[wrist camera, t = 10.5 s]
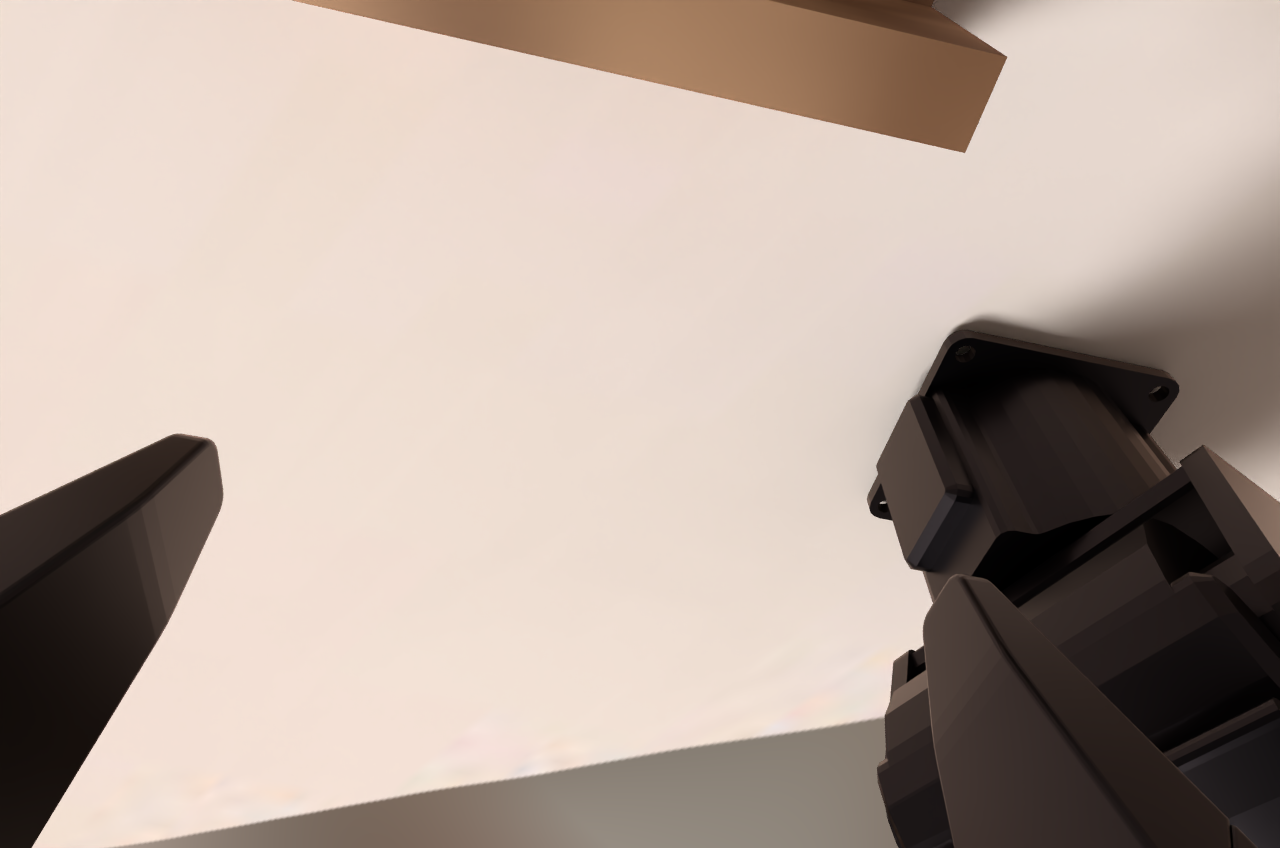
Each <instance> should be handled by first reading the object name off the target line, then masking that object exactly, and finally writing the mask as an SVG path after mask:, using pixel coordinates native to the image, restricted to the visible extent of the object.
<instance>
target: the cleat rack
mask: <svg viewBox="0 0 1280 848" xmlns="http://www.w3.org/2000/svg"><path fill="white" fill-rule="evenodd" d="M293 1H297V2H301V3H306V4H310V5H315V6H319V7H323V8H328V9H332V10H337V11H341V12H345V13H350V14H354V15H359V16H363V17H368V18H372V19H376V20H381V21H385V22H390V23H394V24H398V25H403V26H407V27H412V28H416V29H420V30H425V31H429V32H434V33H438V34H443V35H447V36H451V37H456V38H460V39H465V40H469V41H473V42H478V43H482V44H487V45H491V46H496V47H500V48H504V49H509V50H513V51H518V52H522V53H526V54H531V55H535V56H540V57H544V58H548V59H553V60H557V61H562V62H566V63H571V64H575V65H579V66H584V67H588V68H593V69H597V70H601V71H606V72H610V73H615V74H619V75H623V76H628V77H632V78H637V79H641V80H646V81H650V82H654V83H659V84H663V85H668V86H672V87H676V88H681V89H685V90H690V91H694V92H698V93H703V94H707V95H712V96H716V97H721V98H725V99H729V100H734V101H738V102H743V103H747V104H751V105H756V106H760V107H765V108H769V109H773V110H778V111H782V112H787V113H791V114H796V115H800V116H804V117H809V118H813V119H818V120H822V121H826V122H831V123H835V124H840V125H844V126H848V127H853V128H857V129H862V130H866V131H871V132H875V133H879V134H884V135H888V136H893V137H897V138H901V139H906V140H910V141H915V142H919V143H924V144H928V145H932V146H937V147H941V148H946V149H950V150H954V151H959V152H963V153H965V152H966V149H967V147H968V145H969V143H970V140H971V138H972V136H973V133H974V131H975V129H976V127H977V124H978V122H979V120H980V118H981V115H982V113H983V111H984V109H985V106H986V104H987V102H988V100H989V97H990V95H991V93H992V91H993V88H994V86H995V84H996V81H997V79H998V77H999V75H1000V72H1001V70H1002V68H1003V66H1004V63H1005V61H1006V59H1007V57H1006V56H1005V55H1003V54H1002V53H1000V52H999V51H997V50H996V49H994V48H993V47H991V46H990V45H988V44H987V43H985V42H984V41H982V40H981V39H979V38H978V37H976V36H974V35H973V34H971V33H970V32H968V31H967V30H965V29H964V28H962V27H961V26H959V25H958V24H956V23H955V22H953V21H952V20H950V19H949V18H947V17H946V16H944V15H943V14H941V13H940V12H938V11H936V10H935V9H933V8H932V7H931V6H932V4H933V1H934V0H293Z"/></svg>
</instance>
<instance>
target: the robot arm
mask: <svg viewBox="0 0 1280 848" xmlns="http://www.w3.org/2000/svg"><path fill="white" fill-rule="evenodd" d="M963 346H971V348H970V349H969V350H968V352H966V353H964V354H962V355H957V354H956V352H957V351H958V349H959V348H961V347H963ZM1159 386H1161V388H1160V389H1159V390H1158V391H1156V392H1154V393H1150V392H1151V391H1152V390H1153V389H1154V388H1156V387H1159ZM1178 393H1179V385H1178V384H1177V382H1176V381H1175V380H1174V379H1173V378H1172V377H1171V375H1170V374H1169V373H1167V372H1165V371H1162V370H1157V369H1152V368H1148V367H1143V366H1138V365H1133V364H1128V363H1124V362H1119V361H1114V360H1109V359H1104V358H1099V357H1095V356H1090V355H1085V354H1080V353H1075V352H1071V351H1066V350H1061V349H1056V348H1051V347H1047V346H1042V345H1037V344H1032V343H1027V342H1022V341H1018V340H1013V339H1008V338H1003V337H998V336H994V335H989V334H984V333H979V332H974V331H969V330H961V331H958V332H955V333H953V334H951V335H950V336H949V337H947V339H946V340H945V341H944V343H943V345H942V347H941V349H940V351H939V353H938V355H937V357H936V359H935V361H934V363H933V365H932V367H931V369H930V371H929V373H928V375H927V377H926V379H925V381H924V383H923V385H922V387H921V389H920V391H919V393H918V395H915V396H914V397H912V398H911V399H910V400H908V402H907V403H906V406H905V408H904V410H903V412H902V414H901V416H900V418H899V420H898V422H897V424H896V426H895V428H894V430H893V432H892V434H891V436H890V438H889V440H888V442H887V444H886V446H885V448H884V450H883V452H882V454H881V457H880V459H879V461H878V463H877V466H876V468H877V471H878V476H877V478H876V480H875V482H874V484H873V486H872V488H871V490H870V492H869V494H868V497H867V501H868V505H869V509H870V512H871V513H872V514H873V515H874V516H875V517H878V518H882V519H887V520H892V521H893V523H894V526H895V530H896V533H897V536H898V539H899V543H900V546H901V549H902V552H903V556H904V559H905V560H906V562H907V564H908V565H909V567H910V568H911V569H914V570H919V571H923V574H924V577H925V580H926V583H927V586H928V589H929V592H930V595H931V598H932V601H933V605H932V607H931V608H930V610H929V611H928V613H927V615H926V617H925V620H924V625H923V640H924V646H922V647H921V648H919V649H918V650H916V651H914V650H909V651H908V652H906V653H905V654H903V655H902V656H900V657H899V658H898V659H896V660H895V661H894V663H893V673H892V685H891V697H890V703H889V706H888V708H887V711H886V714H885V734H886V735H885V736H886V755H885V760H883V761H882V762H880V763H879V765H878V767H877V778H878V785H879V788H880V791H881V795H882V798H883V801H884V804H885V808H886V813H887V818H888V822H889V824H890V827H891V830H892V832H893V835H894V838H895V840H896V843H897V845H898V847H899V848H1280V502H1278V501H1277V500H1276V499H1274V498H1273V497H1272V496H1271V495H1269V494H1268V493H1267V492H1265V491H1264V490H1263V489H1261V488H1260V487H1259V486H1257V485H1256V484H1255V483H1253V482H1252V481H1251V480H1250V479H1248V478H1247V477H1246V476H1244V475H1243V474H1242V473H1240V472H1239V471H1238V470H1236V469H1235V468H1234V467H1232V466H1231V465H1230V464H1229V463H1227V462H1226V461H1225V460H1223V459H1222V458H1221V457H1219V456H1218V455H1217V454H1215V453H1214V452H1213V451H1211V450H1210V449H1209V448H1208V447H1206V446H1205V445H1202V446H1201V447H1200V448H1198V449H1197V450H1195V451H1194V452H1192V453H1191V454H1189V455H1188V456H1187V457H1185V458H1184V459H1182V460H1181V461H1180V463H1181V465H1182V466H1181V467H1180V468H1179V469H1176V468H1175V466H1174V465H1173V464H1172V463H1171V461H1170V460H1169V459H1168V458H1167V456H1166V455H1165V454H1164V452H1163V451H1162V450H1161V449H1160V447H1159V446H1158V445H1157V444H1156V442H1155V441H1154V440H1153V439H1152V437H1151V436H1150V435H1149V434H1150V433H1151V431H1152V430H1153V429H1154V427H1155V426H1156V424H1157V423H1158V422H1159V420H1160V419H1161V418H1162V416H1163V415H1164V413H1165V412H1166V411H1167V409H1168V408H1169V407H1170V405H1171V404H1172V403H1173V401H1174V400H1175V398H1176V397H1177V395H1178ZM884 500H887V503H885V504H880V502H882V501H884ZM222 501H223V485H222V478H221V471H220V465H219V458H218V451H217V447H216V445H215V443H214V442H213V441H212V440H210V439H208V438H203V437H198V436H192V435H186V434H173V435H170V436H168V437H165V438H163V439H161V440H159V441H157V442H155V443H153V444H151V445H148V446H146V447H144V448H142V449H140V450H138V451H136V452H134V453H131V454H129V455H127V456H125V457H123V458H121V459H119V460H116V461H114V462H112V463H110V464H108V465H106V466H104V467H102V468H99V469H97V470H95V471H93V472H91V473H89V474H87V475H85V476H82V477H80V478H78V479H76V480H74V481H72V482H70V483H67V484H65V485H63V486H61V487H59V488H57V489H55V490H53V491H50V492H48V493H46V494H44V495H42V496H40V497H38V498H35V499H33V500H31V501H29V502H27V503H25V504H23V505H21V506H18V507H16V508H14V509H12V510H10V511H8V512H6V513H4V514H1V515H0V848H32V846H33V844H34V843H35V841H36V840H37V838H38V836H39V835H40V833H41V831H42V830H43V828H44V826H45V825H46V823H47V822H48V820H49V818H50V817H51V815H52V813H53V812H54V810H55V808H56V807H57V805H58V803H59V802H60V800H61V799H62V797H63V795H64V794H65V792H66V790H67V789H68V787H69V785H70V784H71V782H72V781H73V779H74V777H75V776H76V774H77V772H78V771H79V769H80V767H81V766H82V764H83V762H84V761H85V759H86V758H87V756H88V754H89V753H90V751H91V749H92V748H93V746H94V744H95V743H96V741H97V740H98V738H99V736H100V735H101V733H102V731H103V730H104V728H105V726H106V725H107V723H108V721H109V720H110V718H111V717H112V715H113V713H114V712H115V710H116V708H117V707H118V705H119V703H120V702H121V700H122V699H123V697H124V695H125V694H126V692H127V690H128V689H129V687H130V685H131V684H132V682H133V680H134V679H135V677H136V676H137V674H138V672H139V671H140V669H141V667H142V666H143V664H144V662H145V661H146V659H147V658H148V656H149V654H150V653H151V651H152V649H153V648H154V646H155V644H156V643H157V641H158V639H159V638H160V636H161V634H162V632H163V631H164V629H165V627H166V625H167V624H168V622H169V620H170V618H171V616H172V614H173V612H174V610H175V608H176V606H177V603H178V601H179V599H180V597H181V595H182V592H183V590H184V588H185V586H186V584H187V582H188V579H189V577H190V575H191V573H192V571H193V569H194V566H195V564H196V562H197V560H198V558H199V555H200V553H201V551H202V549H203V547H204V545H205V542H206V540H207V538H208V536H209V534H210V532H211V529H212V527H213V525H214V523H215V521H216V518H217V516H218V514H219V512H220V509H221V506H222Z"/></svg>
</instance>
